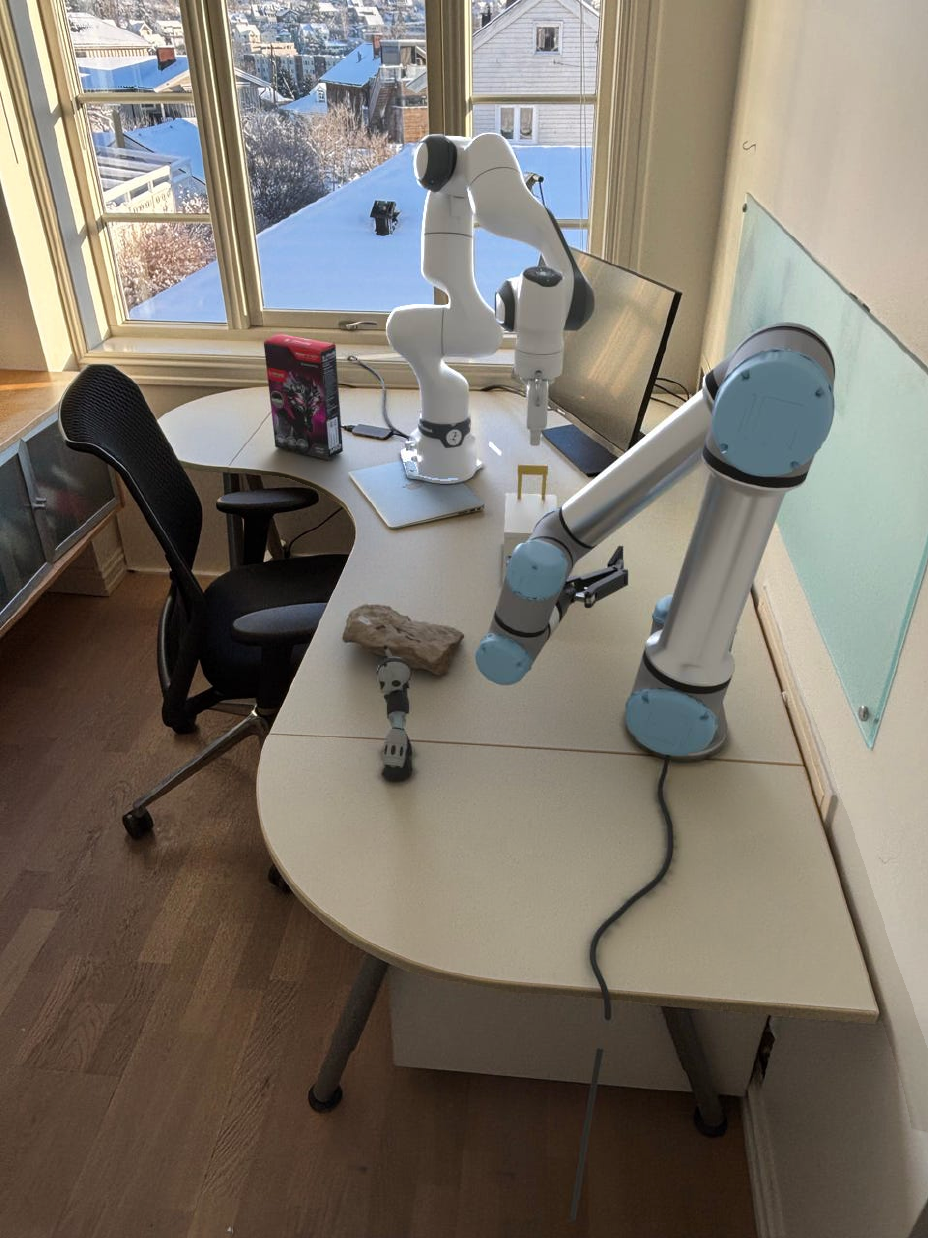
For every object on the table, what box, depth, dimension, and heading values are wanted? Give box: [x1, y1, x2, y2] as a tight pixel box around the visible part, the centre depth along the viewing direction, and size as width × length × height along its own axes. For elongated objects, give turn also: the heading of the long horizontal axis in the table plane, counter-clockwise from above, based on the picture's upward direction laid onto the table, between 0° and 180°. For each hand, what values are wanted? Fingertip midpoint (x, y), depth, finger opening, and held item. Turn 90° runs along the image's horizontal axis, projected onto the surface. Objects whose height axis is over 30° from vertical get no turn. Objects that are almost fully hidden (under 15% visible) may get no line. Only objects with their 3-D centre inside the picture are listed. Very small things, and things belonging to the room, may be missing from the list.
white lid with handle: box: [503, 463, 558, 539], centre depth 176 cm, size 16×10×8 cm, turn 177°
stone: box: [341, 603, 465, 677], centre depth 158 cm, size 21×15×6 cm
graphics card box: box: [263, 333, 344, 460], centre depth 223 cm, size 17×7×27 cm, turn 62°
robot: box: [375, 645, 413, 783], centre depth 131 cm, size 20×5×20 cm, turn 3°
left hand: (534, 434), depth 176 cm, fingers open, 8 cm apart
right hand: (580, 548), depth 152 cm, fingers open, 13 cm apart
